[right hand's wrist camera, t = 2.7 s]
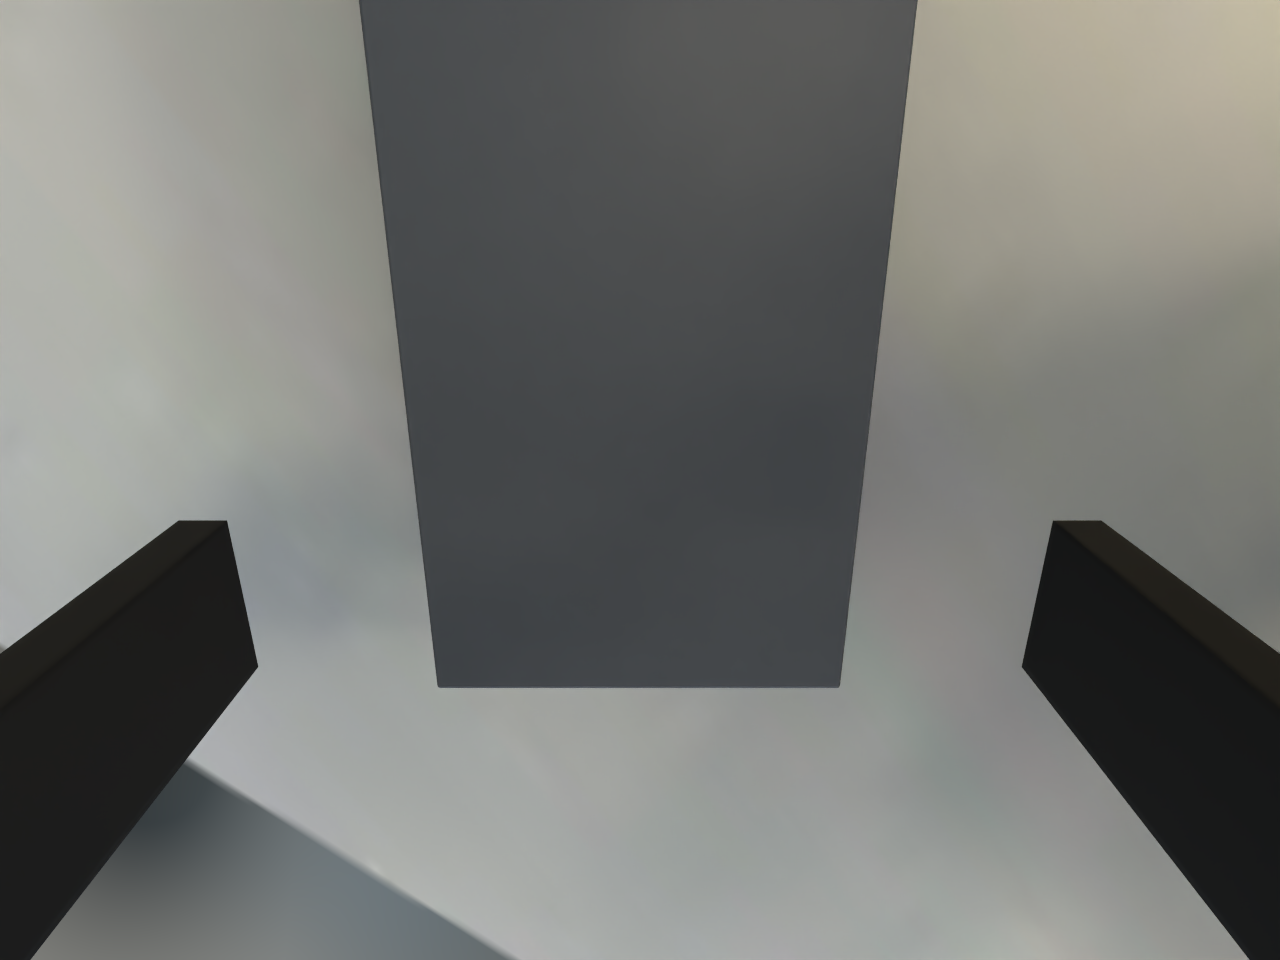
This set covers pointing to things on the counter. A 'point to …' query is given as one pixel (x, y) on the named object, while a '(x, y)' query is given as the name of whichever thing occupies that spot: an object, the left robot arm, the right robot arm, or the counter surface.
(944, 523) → the counter surface
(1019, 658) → the counter surface
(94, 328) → the counter surface
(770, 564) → the dark gray long bar
